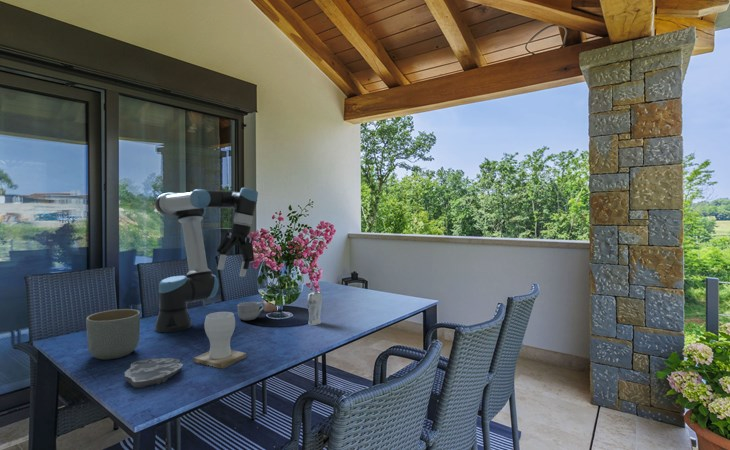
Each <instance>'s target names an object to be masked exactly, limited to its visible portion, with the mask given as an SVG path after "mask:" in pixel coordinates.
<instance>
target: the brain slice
mask: <svg viewBox="0 0 730 450" xmlns="http://www.w3.org/2000/svg"><path fill="white" fill-rule="evenodd" d="M184 365H185V364H184V363H182V362H181V359H180V358H174V357H167V358H166V357H156V358H155V357H154V358H153V357H151V358H145V359H140V360H137V361H133V362H131V364H130V367H129V368H128V369H126V371H124V372H123V373H124V378H125V379H124V380H126V382H127V383H128V384H130V385H131V386H132V387H134V388H136V389H139V388H140V387H142V388H145V387H144V386H146V387H149V386H148V385H151V386H155V385H156V384H158V385H161V384H162V383H161V382H163V383H165V382H166V381H167V380H169V379H170V378H172V377H173V376H174V375H176V374H177V373H178V372H179V371H180V369H182V367H183V366H184ZM168 378H169V379H168ZM160 383H161V384H160ZM154 384H155V385H154ZM140 389H141V388H140Z"/></svg>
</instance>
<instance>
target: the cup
mask: <svg viewBox="0 0 730 450" xmlns="http://www.w3.org/2000/svg"><path fill="white" fill-rule="evenodd" d="M203 324H204V332H205V334H206V337H207V338H208V340H209V347H210V348H209V351H210V352H209V357H210V358H212V359H222V358H226V357H229V356H230V355H231V350H232V349H231V340H232V339H231V338H232V336H233V335H234V331H235V328H236V318H235V314H234V312H231V311H217V312H210V313H209V314H207V315H205V320H204V323H203Z"/></svg>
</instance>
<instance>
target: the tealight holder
mask: <svg viewBox="0 0 730 450" xmlns="http://www.w3.org/2000/svg"><path fill="white" fill-rule="evenodd" d="M265 300H266V299H264V300H263V303H264V304H265V308H264V309H263V311H264V312H267V313H270V312H271V313H273V311H274V312H277V311H276V310H277V307H276V306H275V305H272V304H269V303H267V302H266V301H265Z"/></svg>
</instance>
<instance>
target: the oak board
mask: <svg viewBox="0 0 730 450" xmlns="http://www.w3.org/2000/svg"><path fill="white" fill-rule="evenodd" d="M209 352H210V350H208V351H206V352H204V353H201V354H199V355H197V356H194V357H193V359H192V360H193V361H192V362H193V363H197V364H200V363H201V365H204V366H208V365H209V366H208V367H212V366H213V367H214V368H217V369H221V370H223V369H225V368H228V367H229V366H231V365H234V364H235V363H238V362H240V361H242V360H243V359H246V358H247V355H248V354H247V352H244V351H243V352H242V351H238V350H234V349H231V355H230V356H229V357H226V358H222V359H212V358H210V357H209ZM213 367H212V368H213Z"/></svg>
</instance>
